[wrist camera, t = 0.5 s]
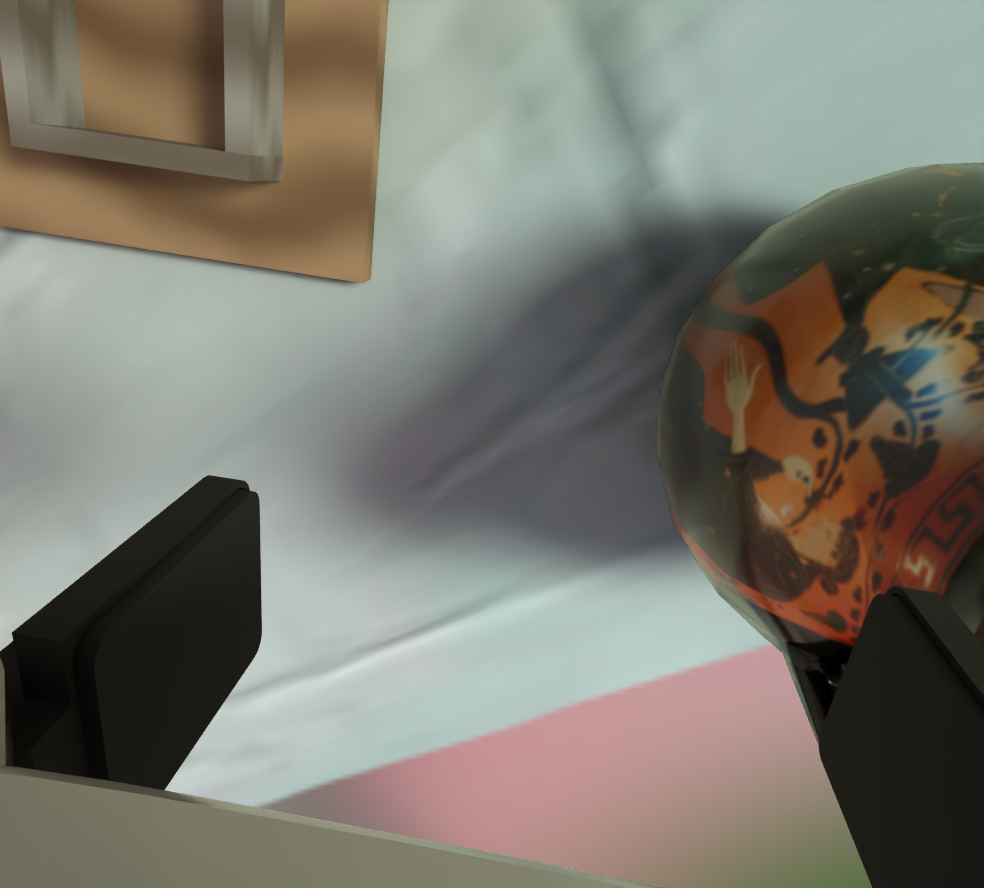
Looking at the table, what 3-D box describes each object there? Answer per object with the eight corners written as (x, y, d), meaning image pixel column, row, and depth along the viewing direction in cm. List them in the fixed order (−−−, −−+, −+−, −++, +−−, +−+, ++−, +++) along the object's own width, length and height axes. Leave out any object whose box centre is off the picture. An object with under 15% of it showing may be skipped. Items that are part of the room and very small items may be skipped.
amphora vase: (834, 70, 34) (1669, -276, 8) (1142, 331, 36) (2543, 725, 10) (565, 403, 42) (535, 781, 16) (833, 598, 44) (1189, 1202, 18)
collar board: (-42, -247, 33) (-154, -323, 28) (401, -199, 32) (366, -269, 27) (17, 224, 42) (-62, 230, 37) (370, 279, 40) (339, 294, 35)
